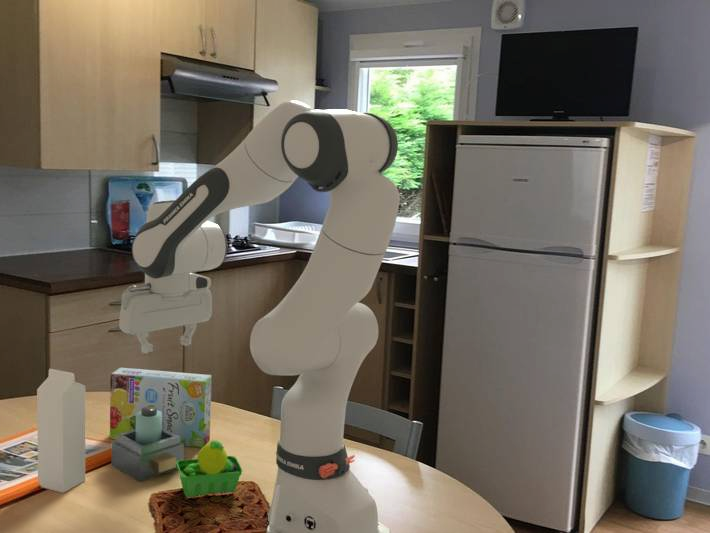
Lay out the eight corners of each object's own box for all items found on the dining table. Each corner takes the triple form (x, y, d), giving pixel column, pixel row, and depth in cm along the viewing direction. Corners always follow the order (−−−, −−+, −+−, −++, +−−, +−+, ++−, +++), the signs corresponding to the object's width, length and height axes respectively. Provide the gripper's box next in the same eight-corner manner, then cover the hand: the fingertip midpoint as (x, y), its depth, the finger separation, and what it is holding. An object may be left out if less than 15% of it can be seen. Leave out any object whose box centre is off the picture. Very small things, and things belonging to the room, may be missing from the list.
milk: (60, 474, 144) (60, 364, 141) (86, 480, 142) (86, 369, 138) (37, 486, 138) (36, 372, 135) (62, 493, 136) (62, 377, 133)
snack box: (210, 439, 165) (212, 373, 163) (203, 449, 160) (205, 381, 157) (118, 430, 167) (119, 365, 165) (108, 439, 161) (108, 373, 159)
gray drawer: (188, 469, 149) (188, 439, 148) (145, 485, 141) (145, 452, 140) (154, 452, 156) (154, 422, 155) (111, 465, 149) (111, 434, 148)
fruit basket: (234, 479, 146) (235, 424, 144) (244, 499, 138) (246, 442, 136) (175, 485, 142) (176, 429, 140) (181, 507, 134) (183, 447, 132)
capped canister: (166, 443, 149) (167, 409, 148) (144, 449, 145) (145, 415, 144) (151, 435, 152) (152, 403, 151) (130, 442, 148) (131, 408, 147)
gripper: (132, 289, 138) (131, 361, 140) (217, 278, 154) (215, 343, 156) (112, 284, 142) (112, 354, 144) (197, 274, 157) (196, 337, 160)
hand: (166, 348), depth 150 cm, fingers open, 8 cm apart
